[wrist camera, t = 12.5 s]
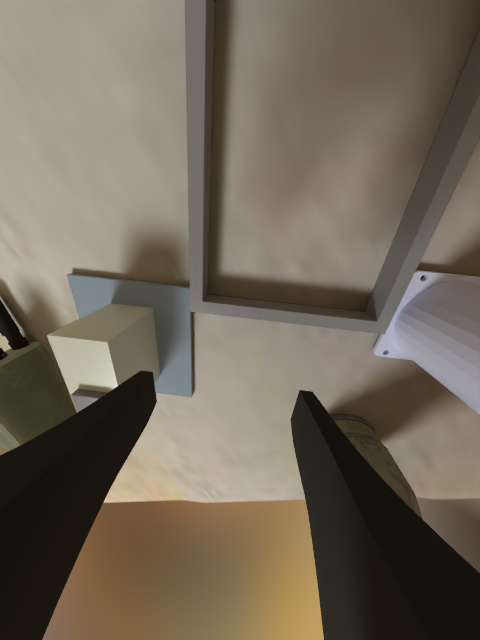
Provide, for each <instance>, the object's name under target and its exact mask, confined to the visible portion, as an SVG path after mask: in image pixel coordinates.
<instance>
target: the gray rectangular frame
mask: <svg viewBox="0 0 480 640" xmlns="http://www.w3.org/2000/svg"><path fill="white" fill-rule="evenodd" d="M214 20H215V0H185V38H186V95H187V151H188V208H189V265H190V312H198V313H207V314H215V315H224V316H233V317H241V318H250V319H258V320H267V321H276V322H284V323H293V324H301V325H310V326H319V327H327V328H336V329H344V330H353V331H362V332H370V333H379V334H385V333H386V331H387V329H388V327H389V325H390V323H391V321H392V319H393V317H394V314H395V312H396V310H397V308H398V306H399V304H400V302H401V300H402V298H403V296H404V294H405V292H406V290H407V288H408V286H409V283H410V281H411V279H412V277H413V275H414V273H415V271H416V269H417V267H418V265H419V263H420V261H421V259H422V257H423V254H424V252H425V250H426V248H427V246H428V244H429V242H430V240H431V238H432V236H433V234H434V232H435V230H436V228H437V225H438V223H439V221H440V219H441V217H442V215H443V213H444V211H445V209H446V207H447V205H448V203H449V201H450V199H451V197H452V194H453V192H454V190H455V188H456V186H457V184H458V182H459V180H460V178H461V176H462V174H463V172H464V170H465V168H466V165H467V163H468V161H469V159H470V157H471V155H472V153H473V151H474V149H475V147H476V145H477V143H478V141H479V139H480V29H479V31H478V34H477V36H476V39H475V41H474V43H473V46H472V48H471V51H470V53H469V56H468V58H467V61H466V63H465V66H464V68H463V71H462V73H461V75H460V78H459V80H458V83H457V85H456V88H455V90H454V93H453V95H452V98H451V100H450V103H449V105H448V107H447V110H446V112H445V115H444V117H443V120H442V122H441V125H440V127H439V130H438V132H437V134H436V137H435V139H434V142H433V144H432V147H431V149H430V152H429V154H428V157H427V159H426V162H425V164H424V166H423V169H422V171H421V174H420V176H419V179H418V181H417V184H416V186H415V189H414V191H413V193H412V196H411V198H410V201H409V203H408V206H407V208H406V211H405V213H404V216H403V218H402V221H401V223H400V225H399V228H398V230H397V233H396V235H395V238H394V240H393V243H392V245H391V248H390V250H389V253H388V255H387V257H386V260H385V262H384V265H383V267H382V270H381V272H380V275H379V277H378V280H377V282H376V284H375V287H374V289H373V292H372V294H371V297H370V299H369V302H368V304H367V307H366V309H365V312H359V311H351V310H342V309H333V308H324V307H315V306H307V305H298V304H289V303H280V302H272V301H263V300H254V299H245V298H236V297H228V296H219V295H210V294H208V268H209V227H210V185H211V144H212V103H213V61H214Z"/></svg>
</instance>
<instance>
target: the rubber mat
mask: <svg viewBox="0 0 480 640" xmlns="http://www.w3.org/2000/svg"><path fill="white" fill-rule="evenodd" d="M67 277H68V281H69V284H70V288H71V291H72V294H73V298H74V301H75V305H76V308H77V312H78V315H79V318H82V317H84V316H86V315H88V314H90V313H92V312H94V311H96V310H98V309H100V308H102V307H104V306H106V305H108V304H110V303H112V304H121V305H130V306H139V307H147V308H153V314H154V323H155V332H156V341H157V350H158V359H159V368H160V377H159V378H158V380H157V381H156V383H155V392H156V393H162V394H170V395H178V396H186V397H192V395H193V366H192V312H190V287H187V286H178V285H169V284H161V283H152V282H143V281H134V280H125V279H117V278H108V277H99V276H90V275H81V274H72V273H71V274H67Z"/></svg>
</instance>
